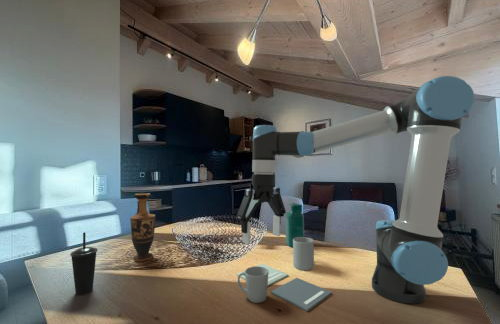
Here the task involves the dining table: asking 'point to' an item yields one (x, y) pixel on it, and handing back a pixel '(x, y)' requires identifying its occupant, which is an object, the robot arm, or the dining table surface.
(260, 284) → the cup
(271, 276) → the pad green
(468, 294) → the dining table surface
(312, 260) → the mug
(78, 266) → the drinking cup
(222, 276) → the dining table surface
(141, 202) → the vase
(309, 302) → the pad slate
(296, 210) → the green bottle
